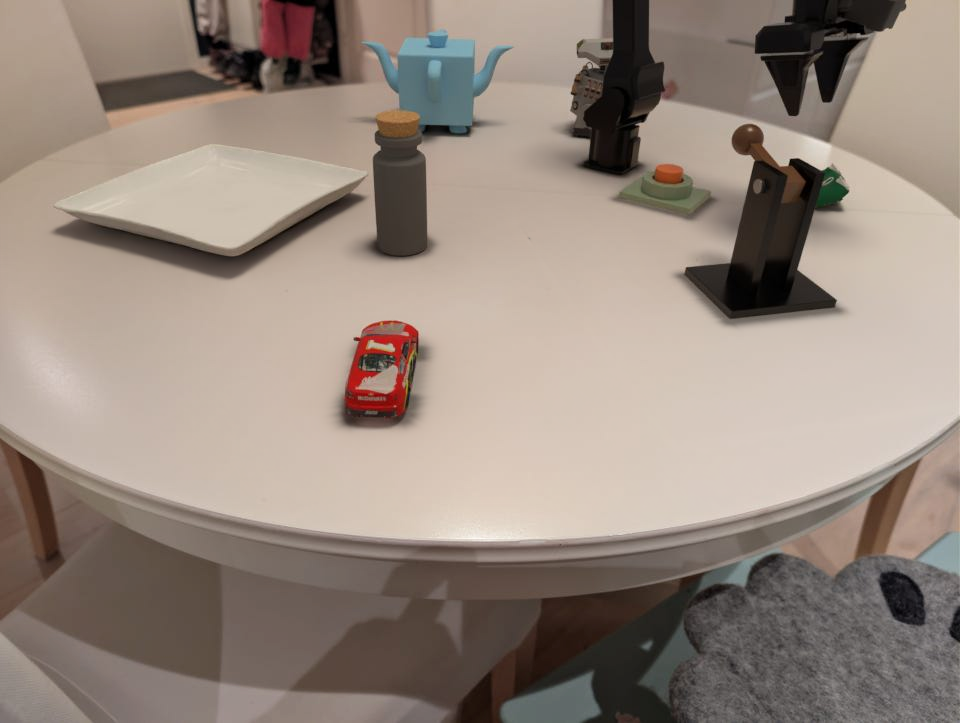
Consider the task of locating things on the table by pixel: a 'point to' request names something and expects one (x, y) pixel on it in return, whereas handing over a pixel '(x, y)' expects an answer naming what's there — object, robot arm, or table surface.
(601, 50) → the figurine
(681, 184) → the button block
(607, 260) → the table surface
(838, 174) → the green carton
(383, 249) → the bottle
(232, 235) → the square plate
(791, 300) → the bracket
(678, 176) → the button
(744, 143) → the lever
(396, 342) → the race car
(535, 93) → the table surface
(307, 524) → the table surface
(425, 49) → the teakettle
